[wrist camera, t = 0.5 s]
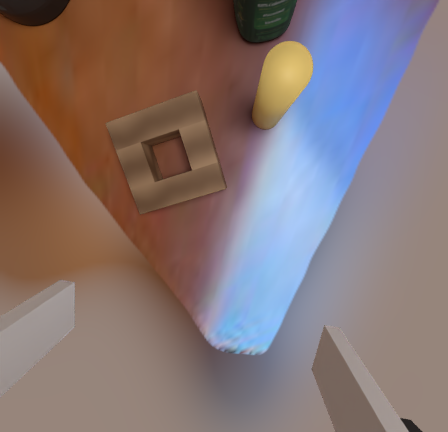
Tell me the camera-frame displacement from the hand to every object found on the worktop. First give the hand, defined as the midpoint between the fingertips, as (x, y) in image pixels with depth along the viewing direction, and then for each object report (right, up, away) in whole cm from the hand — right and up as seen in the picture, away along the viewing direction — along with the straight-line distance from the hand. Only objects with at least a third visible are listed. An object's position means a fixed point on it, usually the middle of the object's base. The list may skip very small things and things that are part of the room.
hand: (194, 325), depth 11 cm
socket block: (-7, +15, +23) cm, 29 cm away
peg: (+8, +21, +21) cm, 31 cm away
